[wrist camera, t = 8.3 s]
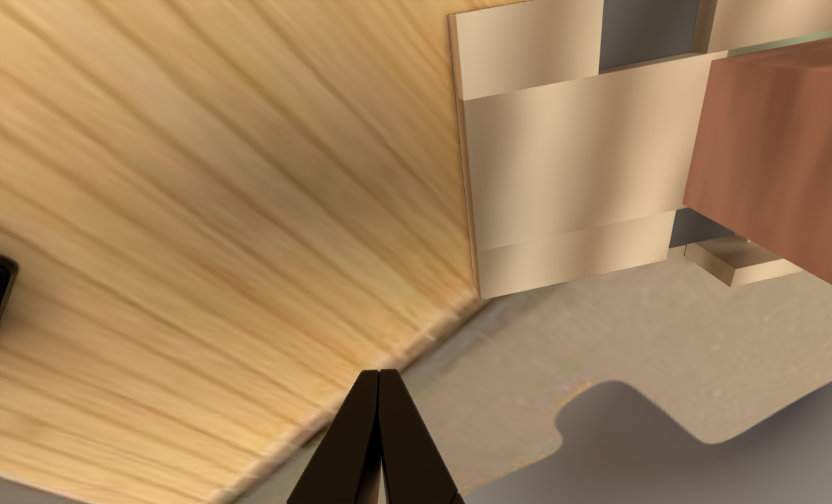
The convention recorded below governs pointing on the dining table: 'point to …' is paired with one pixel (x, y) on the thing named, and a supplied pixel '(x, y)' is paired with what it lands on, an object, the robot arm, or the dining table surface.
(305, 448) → the dining table surface
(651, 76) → the shallow open box
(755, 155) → the block
